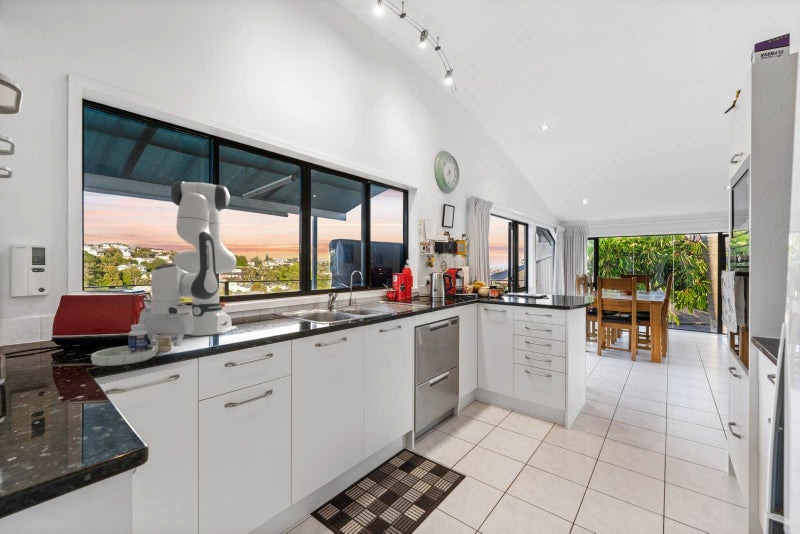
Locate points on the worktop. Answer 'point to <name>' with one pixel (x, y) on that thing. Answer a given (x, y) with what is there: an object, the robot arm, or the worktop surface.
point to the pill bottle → (137, 339)
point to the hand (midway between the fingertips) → (165, 345)
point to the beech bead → (164, 344)
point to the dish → (121, 356)
